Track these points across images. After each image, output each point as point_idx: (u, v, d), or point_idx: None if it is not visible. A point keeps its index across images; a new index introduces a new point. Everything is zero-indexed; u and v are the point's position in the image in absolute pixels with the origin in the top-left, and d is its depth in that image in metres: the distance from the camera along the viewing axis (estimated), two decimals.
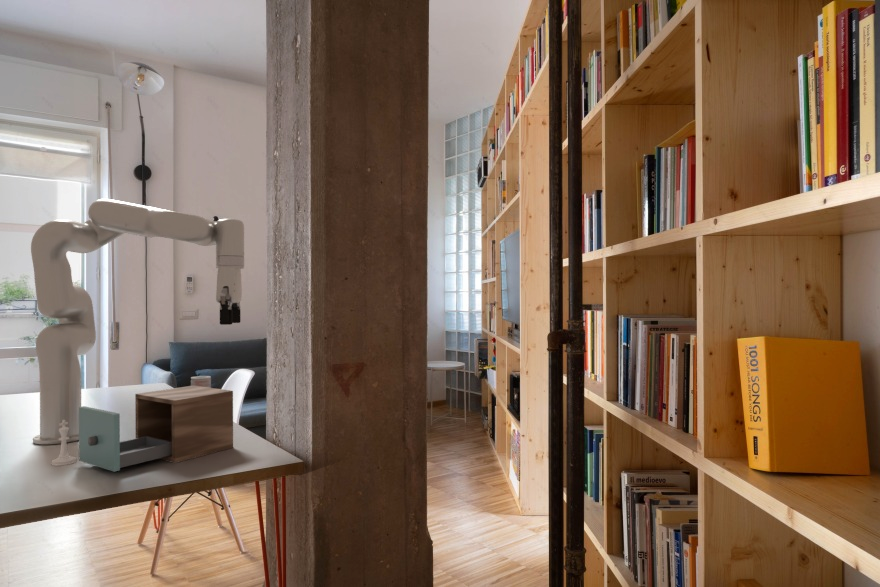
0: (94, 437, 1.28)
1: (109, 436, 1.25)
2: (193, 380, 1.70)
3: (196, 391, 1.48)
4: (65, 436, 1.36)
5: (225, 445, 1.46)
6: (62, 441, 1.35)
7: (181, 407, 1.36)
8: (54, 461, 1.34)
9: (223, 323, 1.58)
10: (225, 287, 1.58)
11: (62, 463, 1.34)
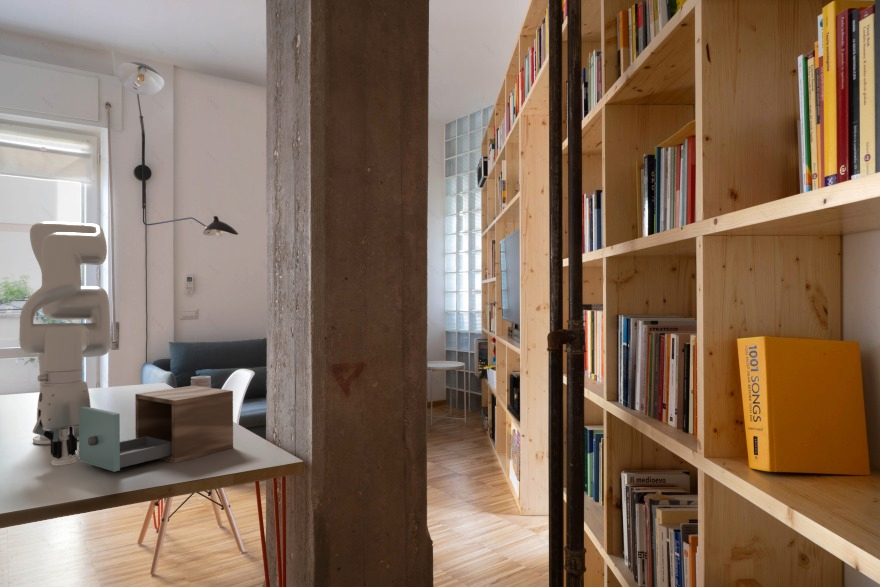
0: (94, 437, 1.28)
1: (109, 436, 1.25)
2: (193, 380, 1.70)
3: (196, 391, 1.48)
4: (65, 436, 1.36)
5: (225, 445, 1.46)
6: (62, 441, 1.35)
7: (181, 407, 1.36)
8: (54, 461, 1.34)
9: None
10: None
11: (62, 463, 1.34)
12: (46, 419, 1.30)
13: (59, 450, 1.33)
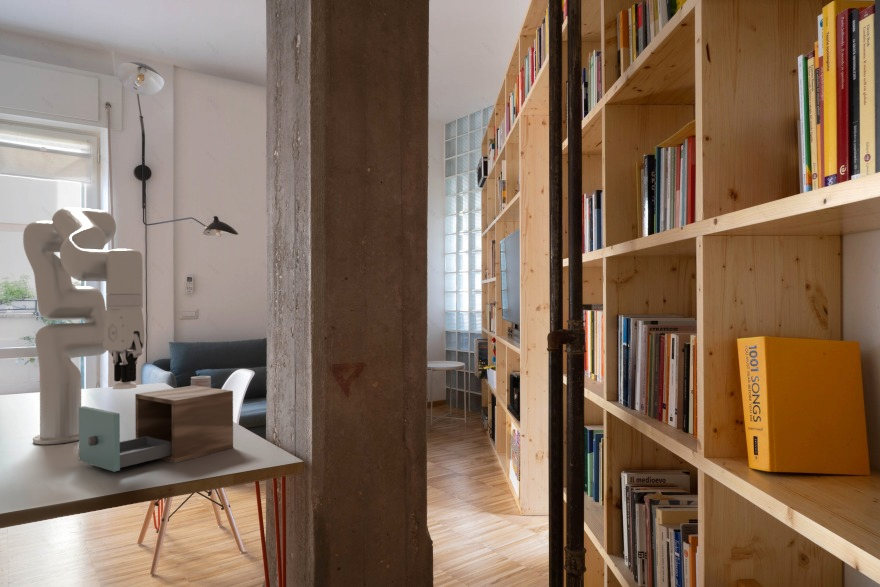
0: (94, 437, 1.28)
1: (109, 436, 1.25)
2: (193, 380, 1.70)
3: (196, 391, 1.48)
4: None
5: (225, 445, 1.46)
6: None
7: (181, 407, 1.36)
8: None
9: (126, 380, 1.33)
10: (135, 336, 1.32)
11: (113, 386, 1.33)
12: (103, 339, 1.35)
13: (114, 373, 1.34)
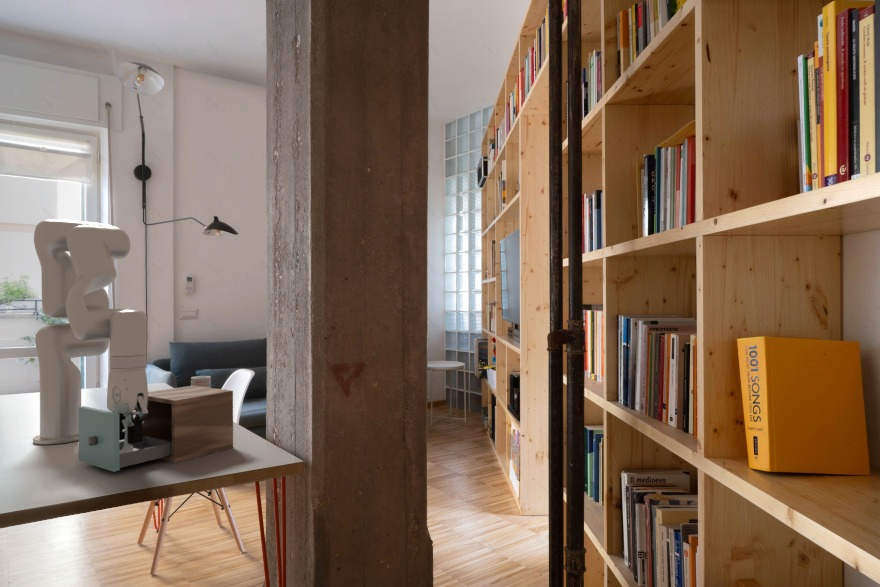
0: (94, 437, 1.28)
1: (109, 436, 1.25)
2: (193, 380, 1.70)
3: (196, 391, 1.48)
4: (125, 428, 1.34)
5: (225, 445, 1.46)
6: None
7: (181, 407, 1.36)
8: None
9: (133, 442, 1.32)
10: (139, 397, 1.32)
11: None
12: (107, 399, 1.35)
13: None
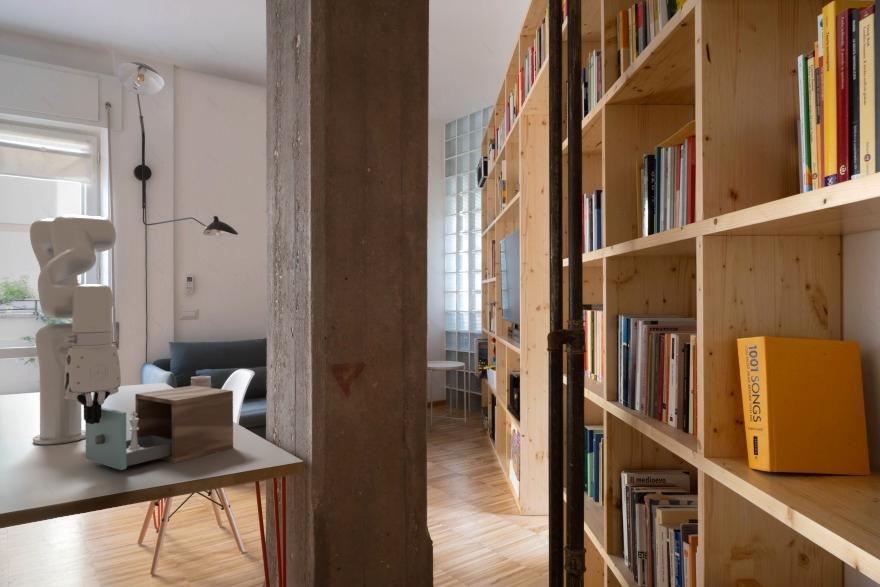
0: (101, 436, 1.29)
1: (116, 435, 1.26)
2: (193, 380, 1.70)
3: (196, 391, 1.48)
4: (132, 427, 1.35)
5: (225, 445, 1.46)
6: None
7: (181, 407, 1.36)
8: None
9: None
10: None
11: None
12: (75, 382, 1.23)
13: (93, 415, 1.26)
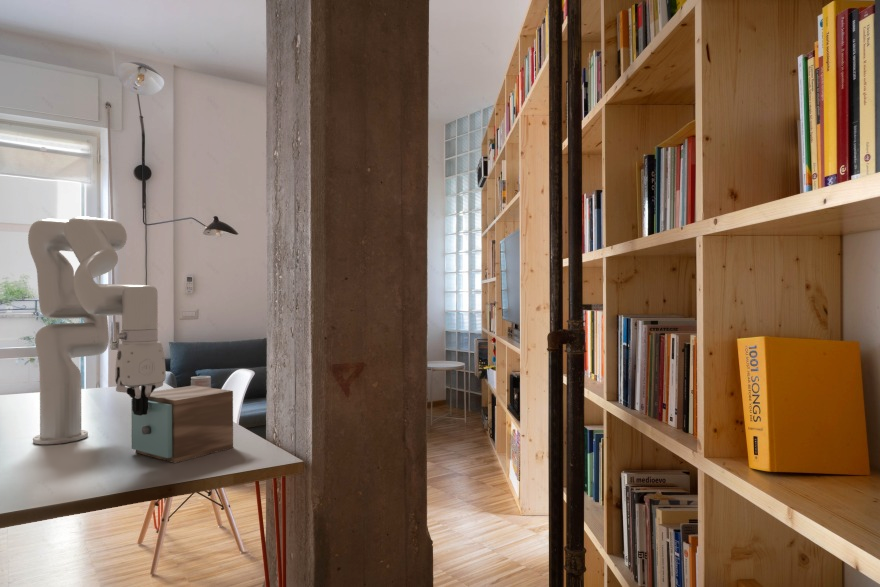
0: (148, 426, 1.38)
1: (162, 425, 1.35)
2: (193, 380, 1.70)
3: (196, 391, 1.48)
4: None
5: (225, 445, 1.46)
6: None
7: (181, 407, 1.36)
8: None
9: None
10: None
11: None
12: (125, 376, 1.32)
13: (141, 407, 1.35)
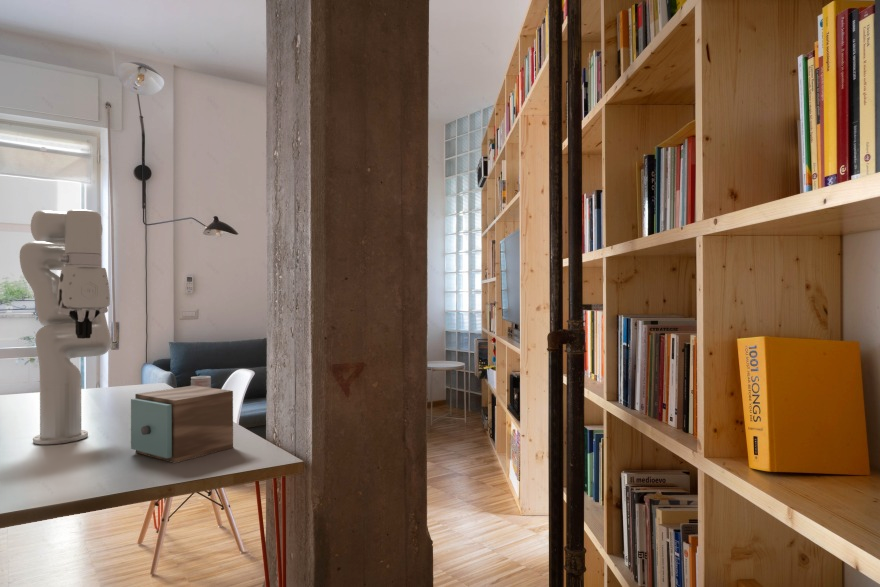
0: (147, 427, 1.38)
1: (162, 425, 1.35)
2: (193, 380, 1.70)
3: (196, 391, 1.48)
4: None
5: (225, 445, 1.46)
6: None
7: (181, 407, 1.36)
8: None
9: None
10: None
11: None
12: (67, 298, 1.33)
13: (84, 330, 1.37)
